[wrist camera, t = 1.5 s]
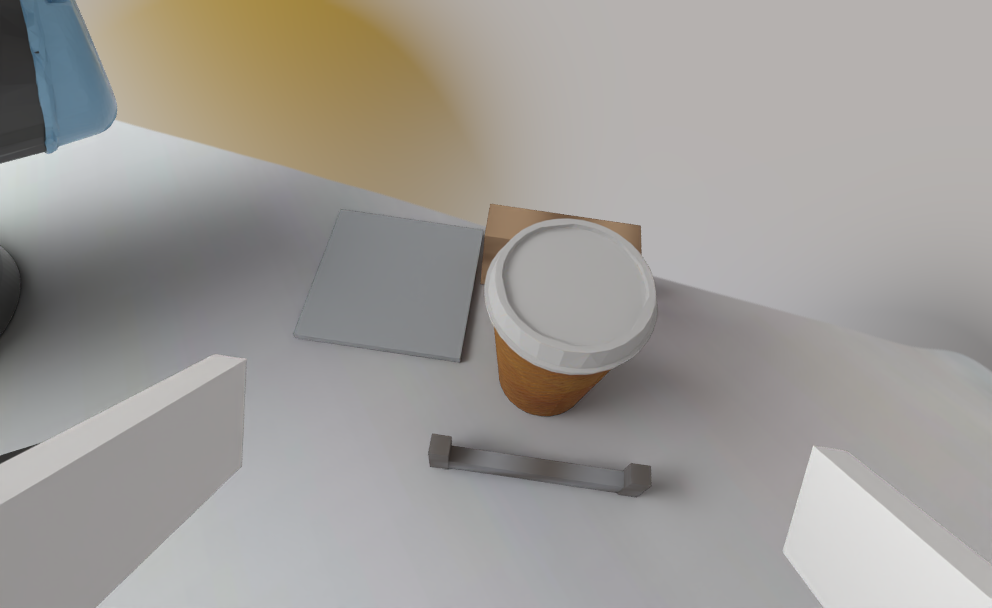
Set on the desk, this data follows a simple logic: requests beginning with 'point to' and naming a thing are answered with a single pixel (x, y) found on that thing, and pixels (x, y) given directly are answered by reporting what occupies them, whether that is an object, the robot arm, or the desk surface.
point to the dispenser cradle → (444, 455)
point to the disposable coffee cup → (566, 311)
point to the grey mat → (393, 286)
